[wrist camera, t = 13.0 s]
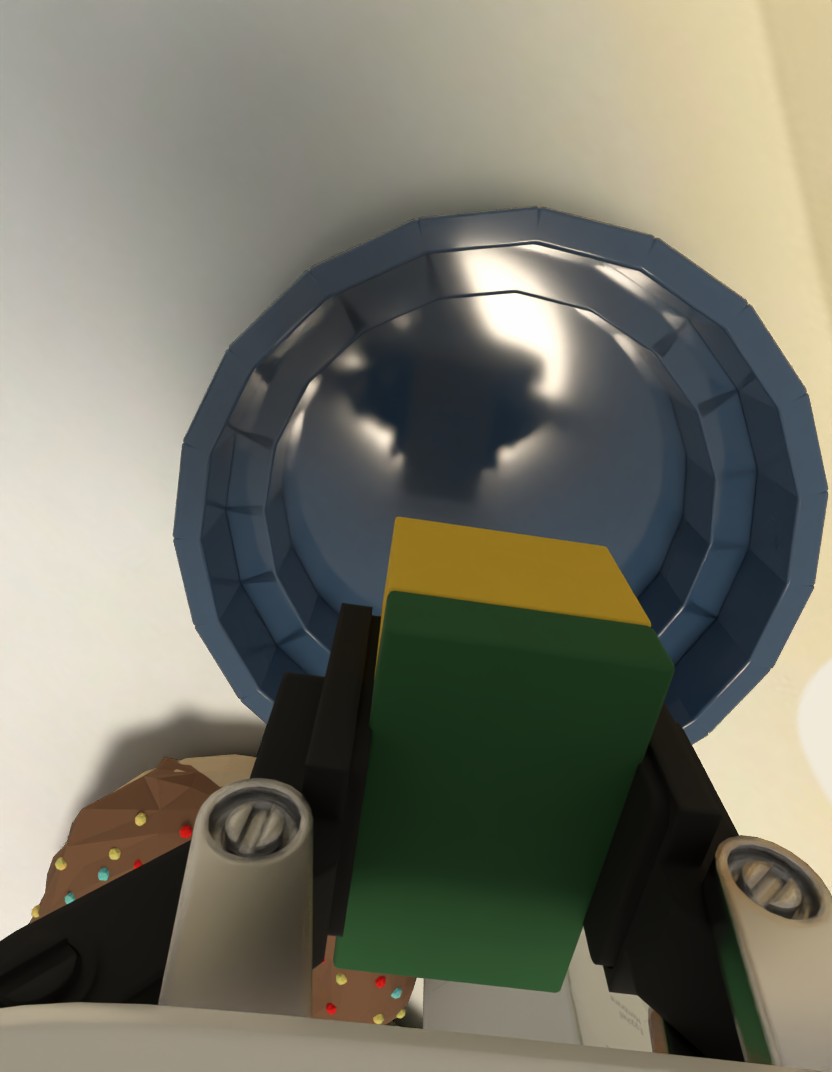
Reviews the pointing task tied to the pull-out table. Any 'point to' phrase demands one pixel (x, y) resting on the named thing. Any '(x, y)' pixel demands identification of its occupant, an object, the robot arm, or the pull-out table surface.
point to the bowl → (504, 444)
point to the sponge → (496, 753)
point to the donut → (167, 822)
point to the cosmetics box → (543, 1009)
